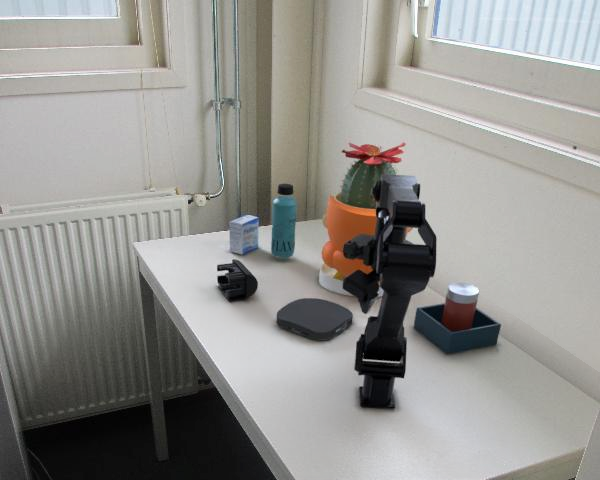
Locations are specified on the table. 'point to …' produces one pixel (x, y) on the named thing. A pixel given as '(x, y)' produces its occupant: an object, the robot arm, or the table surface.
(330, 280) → the potted cactus
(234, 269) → the end cap
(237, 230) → the medicine box
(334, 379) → the table surface
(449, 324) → the tin can
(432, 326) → the tote
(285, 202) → the beverage bottle
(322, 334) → the media streaming box
